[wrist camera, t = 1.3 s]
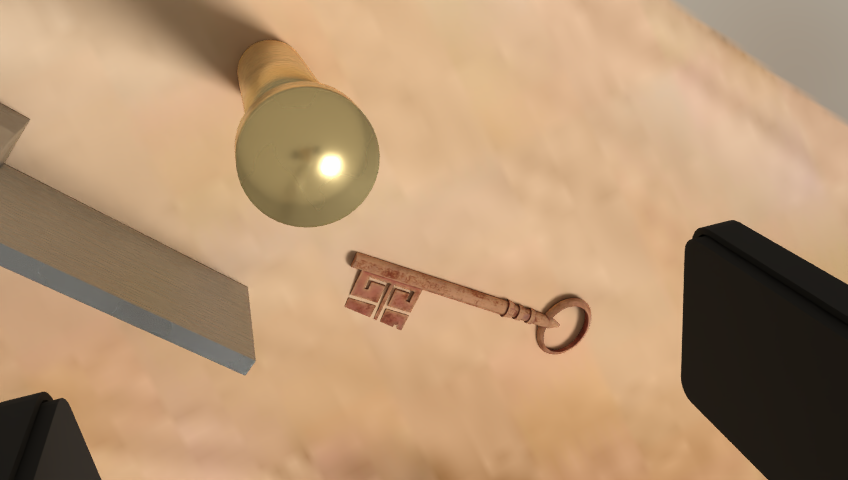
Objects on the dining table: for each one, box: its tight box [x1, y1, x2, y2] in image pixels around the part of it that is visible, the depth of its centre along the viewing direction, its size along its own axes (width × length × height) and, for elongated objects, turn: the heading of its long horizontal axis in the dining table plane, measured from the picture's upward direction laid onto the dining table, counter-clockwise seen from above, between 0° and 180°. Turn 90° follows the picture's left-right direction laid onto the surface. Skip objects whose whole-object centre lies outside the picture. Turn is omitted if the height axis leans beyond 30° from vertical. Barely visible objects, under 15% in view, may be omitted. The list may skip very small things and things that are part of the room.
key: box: [345, 252, 591, 354], centre depth 41 cm, size 6×1×15 cm
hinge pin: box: [235, 40, 380, 227], centre depth 27 cm, size 4×4×14 cm
